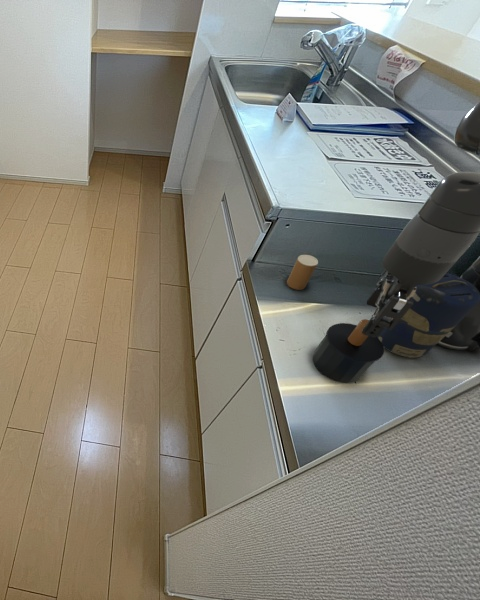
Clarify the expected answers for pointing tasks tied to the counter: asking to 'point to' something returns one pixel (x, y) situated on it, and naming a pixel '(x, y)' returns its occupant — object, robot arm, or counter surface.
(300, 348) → the counter surface
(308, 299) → the counter surface
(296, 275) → the cylinder
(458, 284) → the canister
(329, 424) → the counter surface
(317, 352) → the cup
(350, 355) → the lid
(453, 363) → the counter surface
